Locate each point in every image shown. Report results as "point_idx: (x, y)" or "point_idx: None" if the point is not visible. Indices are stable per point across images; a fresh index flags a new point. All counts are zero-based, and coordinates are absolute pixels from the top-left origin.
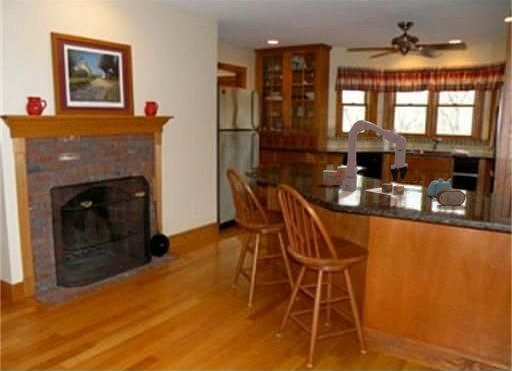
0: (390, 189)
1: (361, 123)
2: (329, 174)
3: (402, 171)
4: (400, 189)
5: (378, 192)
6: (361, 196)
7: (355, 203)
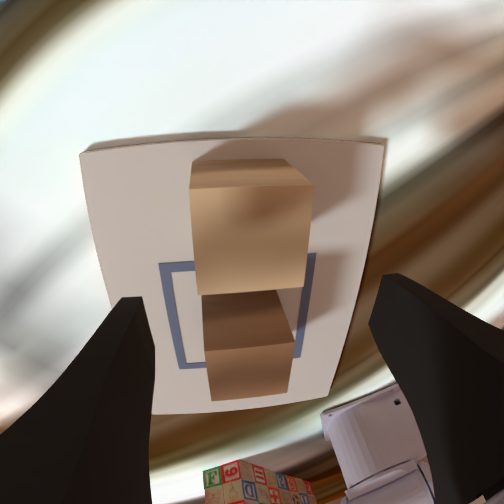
0: (240, 309)
1: None
2: None
3: (129, 484)
4: (285, 174)
5: (337, 322)
6: (473, 294)
7: None
